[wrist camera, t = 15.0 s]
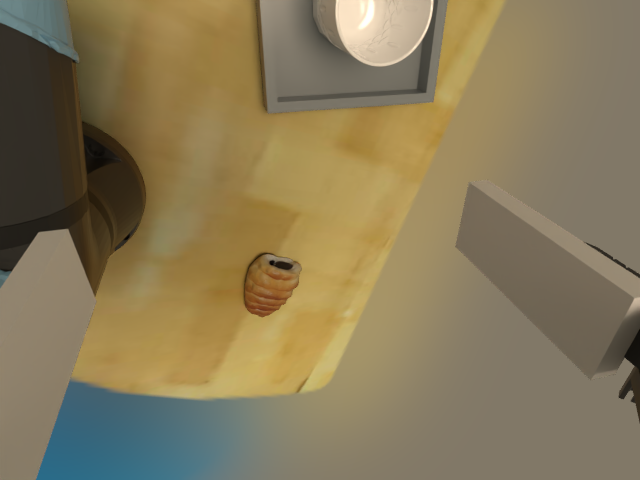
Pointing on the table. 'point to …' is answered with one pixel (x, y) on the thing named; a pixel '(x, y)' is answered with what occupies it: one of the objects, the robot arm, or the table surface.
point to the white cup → (374, 27)
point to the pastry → (270, 283)
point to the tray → (336, 64)
